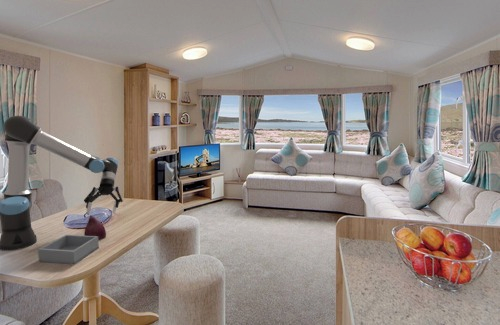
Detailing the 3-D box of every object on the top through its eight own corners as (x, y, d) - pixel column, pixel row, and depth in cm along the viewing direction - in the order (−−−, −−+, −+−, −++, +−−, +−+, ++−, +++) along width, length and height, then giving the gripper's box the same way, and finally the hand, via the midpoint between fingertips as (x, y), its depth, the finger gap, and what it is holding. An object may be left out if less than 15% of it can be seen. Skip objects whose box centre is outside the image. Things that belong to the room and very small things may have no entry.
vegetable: (97, 247, 151) (93, 224, 145) (80, 243, 153) (76, 219, 147) (110, 235, 161) (107, 213, 155) (94, 231, 162) (91, 209, 156)
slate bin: (39, 262, 129) (38, 249, 128) (67, 245, 146) (66, 234, 145) (74, 264, 127) (73, 251, 126) (98, 247, 144) (98, 236, 143)
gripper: (131, 183, 178) (126, 215, 166) (87, 184, 174) (79, 217, 162) (128, 177, 172) (123, 209, 160) (83, 177, 168) (74, 210, 156)
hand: (100, 213), depth 161 cm, fingers open, 13 cm apart
